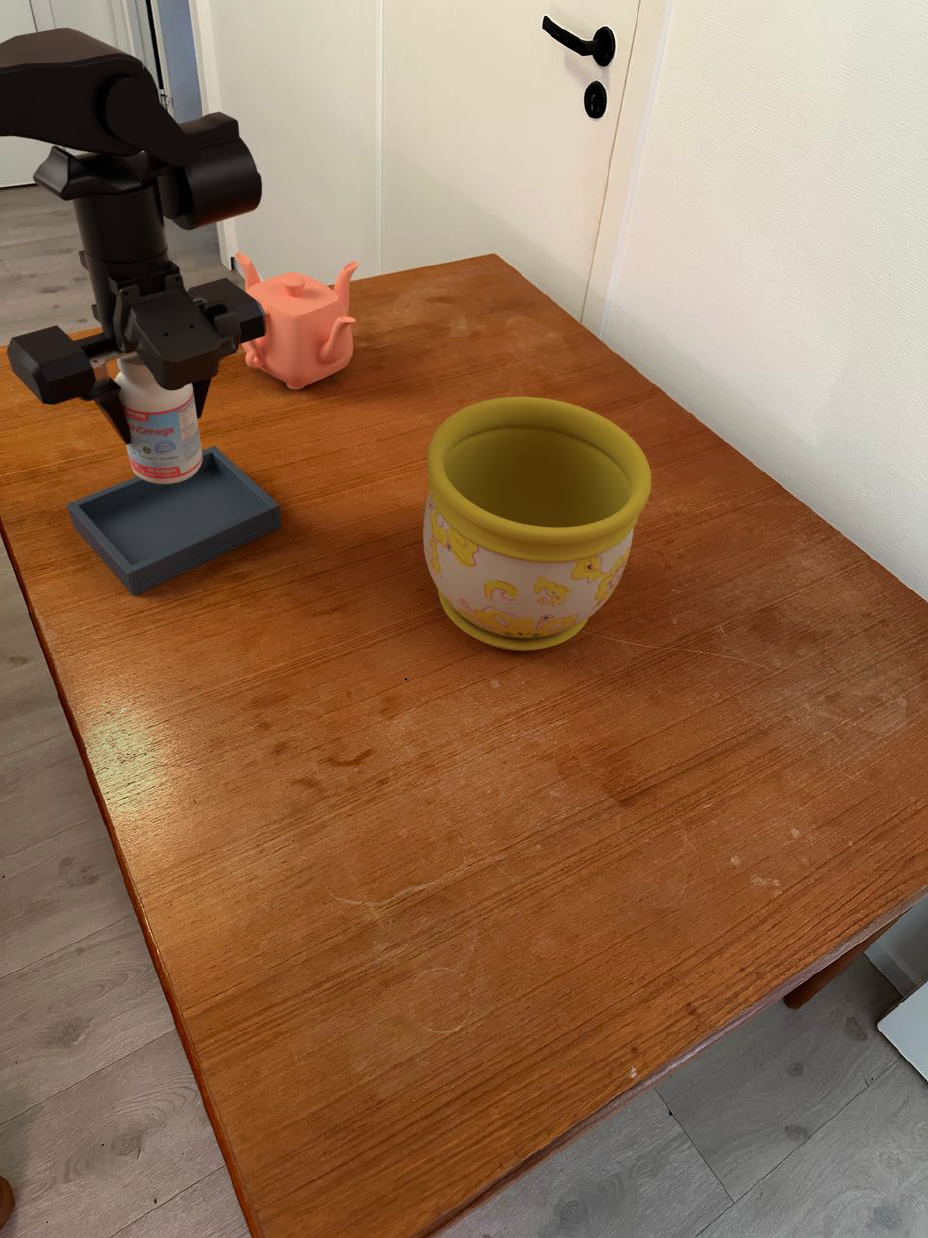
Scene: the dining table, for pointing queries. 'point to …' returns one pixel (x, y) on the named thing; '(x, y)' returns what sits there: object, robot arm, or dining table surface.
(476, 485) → the flowerpot
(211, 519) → the tray
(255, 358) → the teapot
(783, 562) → the dining table surface
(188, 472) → the pill bottle
